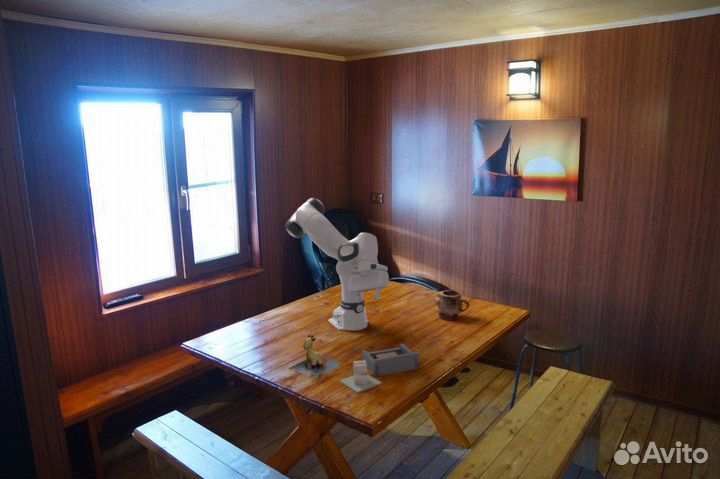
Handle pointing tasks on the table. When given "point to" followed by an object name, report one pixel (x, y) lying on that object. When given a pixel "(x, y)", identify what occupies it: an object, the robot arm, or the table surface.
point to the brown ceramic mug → (450, 304)
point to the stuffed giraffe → (314, 361)
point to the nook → (391, 360)
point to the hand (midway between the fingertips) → (367, 300)
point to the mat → (361, 387)
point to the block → (360, 372)
